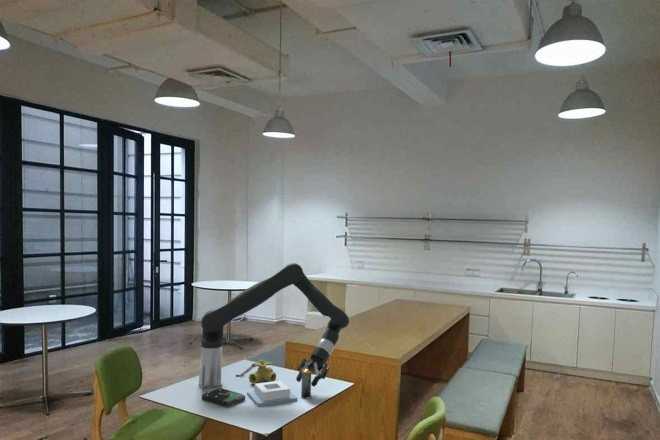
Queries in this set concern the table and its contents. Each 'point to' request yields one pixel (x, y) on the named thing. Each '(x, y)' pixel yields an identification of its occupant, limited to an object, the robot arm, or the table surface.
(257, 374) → the ball valve
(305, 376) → the gold topped tube
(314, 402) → the table surface
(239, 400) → the disk drive
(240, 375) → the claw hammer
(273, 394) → the socket mount
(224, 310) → the robot arm
